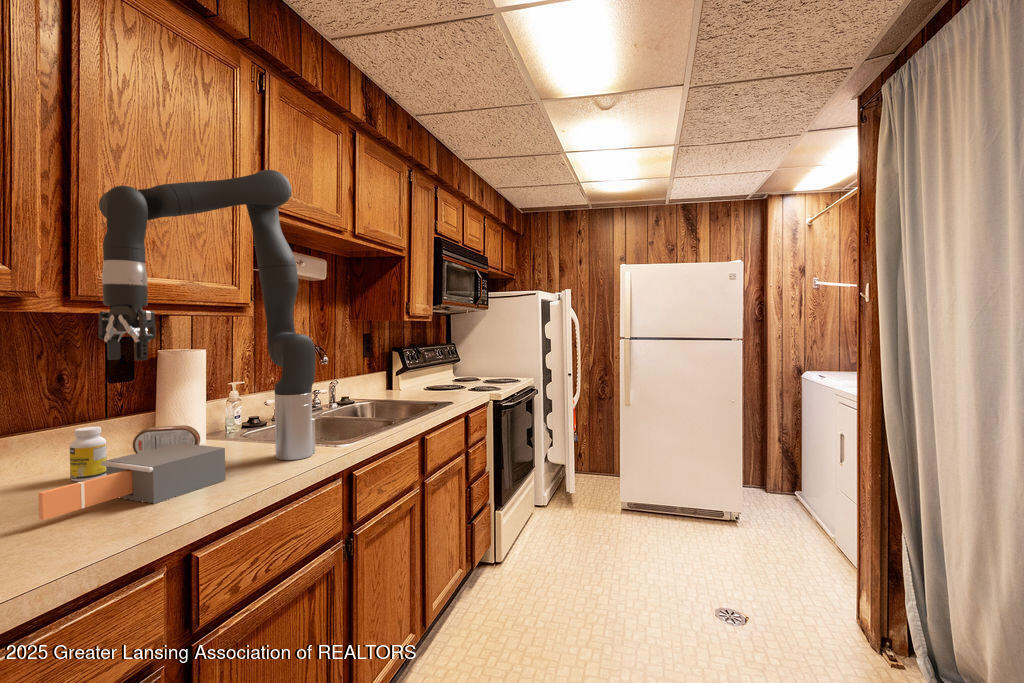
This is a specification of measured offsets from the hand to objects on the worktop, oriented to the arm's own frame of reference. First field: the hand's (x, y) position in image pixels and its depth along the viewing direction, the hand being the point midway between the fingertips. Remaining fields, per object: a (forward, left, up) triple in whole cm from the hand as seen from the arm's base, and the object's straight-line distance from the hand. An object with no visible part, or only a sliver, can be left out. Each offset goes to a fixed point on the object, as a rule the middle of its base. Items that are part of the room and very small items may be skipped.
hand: (127, 360), depth 105 cm
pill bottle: (-3, -19, -28) cm, 34 cm away
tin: (-22, -20, -28) cm, 41 cm away
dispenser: (-4, +6, -28) cm, 29 cm away
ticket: (+9, +6, -27) cm, 29 cm away
